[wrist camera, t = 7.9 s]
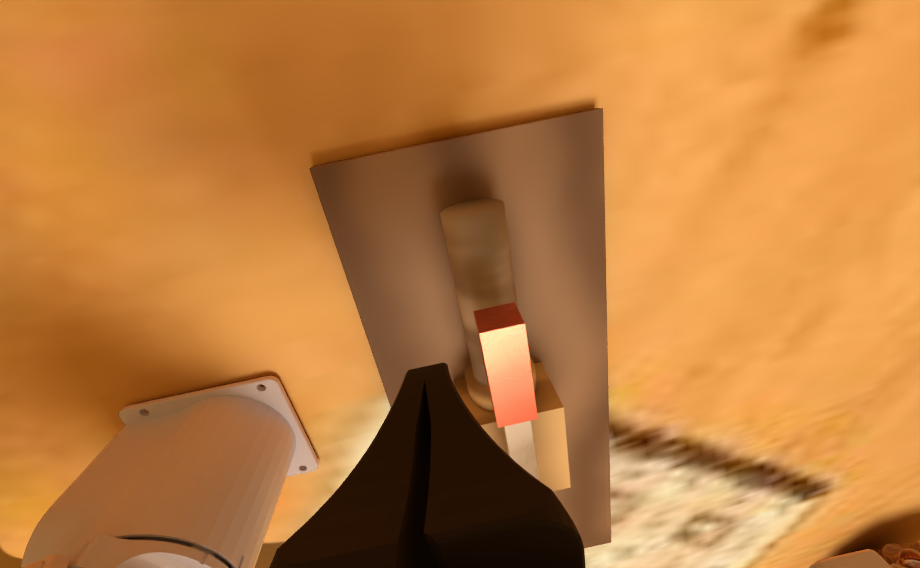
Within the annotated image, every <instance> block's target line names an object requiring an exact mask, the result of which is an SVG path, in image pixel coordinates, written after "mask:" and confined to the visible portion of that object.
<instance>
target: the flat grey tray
mask: <svg viewBox="0 0 920 568" xmlns="http://www.w3.org/2000/svg"><path fill="white" fill-rule="evenodd" d="M309 169H310V172H311V175H312V177H313V180H314V183H315V186H316V189H317V192H318V195H319V198H320V201H321V204H322V207H323V210H324V213H325V216H326V218H327V221H328V224H329V227H330V230H331V233H332V236H333V239H334V242H335V245H336V248H337V251H338V254H339V257H340V259H341V262H342V265H343V268H344V271H345V274H346V277H347V280H348V283H349V286H350V289H351V292H352V295H353V298H354V300H355V303H356V306H357V309H358V312H359V315H360V318H361V321H362V324H363V327H364V330H365V333H366V336H367V339H368V341H369V344H370V347H371V350H372V353H373V356H374V359H375V362H376V365H377V368H378V371H379V374H380V377H381V379H382V382H383V385H384V388H385V391H386V394H387V397H388V400H389V403H390V406H391V407H392V405H393V403H394V401H395V399H396V397H397V394H398V392H399V390H400V387H401V385H402V383H403V380H404V377H405V375H406V373H407V371H408V370H410V369H415V368H420V367H424V366H429V365H434V364H438V363H443V362H444V363H446V364H447V365H448V369H449V373H450V377H451V379H452V381H453V384H454V386H455V388H456V390H457V391H458V393H459V395H460V396H461V398H462V400H463V401H464V403H465V405H466V406H467V408H468V409H469V411H470V412H471V413H472V415H473V416H474V418H475V419H476V420H477V421H478V423H479V424H480V425H481V427H482V428H483V429H484V430H485V431H486V432H487V434H488V435H489V436H490V437H491V438H492V439H493V440H494V441H495V442H496V443H497V445H498V446H499V447H500V448H502V449H503V450H504V451H505V452H506V453H507V454H508V452H507V447H506V442H505V436H504V431H503V427H500V428H498V426H497V422H496V418H495V414H494V410H493V406H492V402H491V398H490V393H489V388H488V383H487V378H486V373H485V368H484V363H483V358H482V353H481V348H480V343H479V338H478V333H477V328H476V323H475V318H474V313H473V311H476V310H480V309H485V308H490V307H494V306H499V305H503V304H508V303H513V302H515V304H516V306H517V308H518V310H519V312H520V314H521V316H522V318H523V320H524V322H525V327H526V334H527V342H528V349H529V356H530V364H531V371H532V379H533V386H534V393H535V401H536V408H537V416H538V419H536V420H532V421H531V427H532V433H533V440H534V447H535V454H536V461H537V467H538V474H539V481H540V482H542V483H543V484H544V485H546V486H547V487H549V488H550V489H551V490H552V491H553V492H554V493H555V495H556V496H557V498H558V499H559V500H560V502H561V503H562V505H563V506H564V508H565V509H566V511H567V512H568V514H569V515H570V517H571V519H572V520H573V522H574V524H575V526H576V528H577V530H578V532H579V534H580V536H581V538H582V542H583V545H584V548H587V547H592V546H596V545H601V544H605V543H610V542H611V510H610V458H609V406H608V354H607V301H606V249H605V197H604V145H603V108H595V109H590V110H586V111H581V112H576V113H571V114H566V115H561V116H556V117H551V118H546V119H541V120H536V121H532V122H527V123H522V124H517V125H512V126H507V127H502V128H497V129H492V130H487V131H483V132H478V133H473V134H468V135H463V136H458V137H453V138H448V139H443V140H438V141H433V142H429V143H424V144H419V145H414V146H409V147H404V148H399V149H394V150H389V151H384V152H380V153H375V154H370V155H365V156H360V157H355V158H350V159H345V160H340V161H335V162H330V163H326V164H321V165H316V166H313V167H311V168H309Z"/></svg>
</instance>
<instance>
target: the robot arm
mask: <svg viewBox="0 0 920 568" xmlns="http://www.w3.org/2000/svg"><path fill="white" fill-rule="evenodd" d="M259 384H262V385H264V386H265V387H262V386H260V385H259ZM146 410H147V411H146ZM119 417H120V419H121V420H122V421H123V423H124V424H125V426H124V427H123V428H122V429H121V431H120V432H119V433H118V434H117V435H116V436H115V437H114V438H113V439H112V440H111V442H110V443H109V444H108V445H107V446H106V447H105V448H104V449H103V450H102V451H101V452H100V454H99V455H98V456H97V457H96V458H95V459H94V460H93V461H92V462H91V463H90V464H89V466H88V467H87V468H86V469H85V470H84V471H83V472H82V473H81V474H80V475H79V476H78V478H77V479H76V480H75V481H74V482H73V483H72V484H71V485H70V486H69V487H68V489H67V490H66V491H65V492H64V493H63V494H62V495H61V496H60V497H59V498H58V499H57V501H56V502H55V503H54V504H53V505H52V506H51V507H50V508H49V509H48V511H47V512H46V513H45V514H44V516H43V517H42V518H41V520H40V521H39V523H38V524H37V526H36V528H35V529H34V531H33V533H32V535H31V537H30V540H29V542H28V544H27V547H26V550H25V553H24V556H23V560H22V565H21V568H254V567H255V564H256V561H257V558H258V555H259V552H260V550H261V547H262V544H263V541H264V538H265V536H266V533H267V530H268V527H269V524H270V521H271V519H272V516H273V513H274V510H275V507H276V504H277V502H278V499H279V496H280V493H281V490H282V487H283V485H284V482H285V479H286V477H288V476H293V475H298V474H302V473H307V472H312V471H315V470H316V469H317V468H318V465H319V460H318V458H317V456H316V454H315V452H314V450H313V448H312V446H311V444H310V442H309V440H308V438H307V436H306V434H305V431H304V429H303V427H302V425H301V423H300V421H299V419H298V417H297V415H296V413H295V411H294V409H293V407H292V405H291V403H290V401H289V399H288V397H287V395H286V392H285V390H284V388H283V386H282V384H281V382H280V380H279V379H278V378H277V377H275V376H266V377H261V378H256V379H251V380H247V381H242V382H237V383H233V384H228V385H223V386H218V387H214V388H209V389H204V390H199V391H195V392H190V393H185V394H181V395H176V396H171V397H166V398H162V399H157V400H152V401H148V402H143V403H138V404H133V405H129V406H125V407H124V408H123V409H122V410H121V411H120V412H119ZM269 568H585V555H584V545H583V542H582V538H581V536H580V534H579V532H578V530H577V528H576V526H575V524H574V522H573V520H572V519H571V517H570V515H569V514H568V512H567V511H566V509H565V508H564V506H563V505H562V503H561V502H560V500H559V499H558V498H557V496H556V495H555V493H554V492H553V491H552V490H551V489H550V488H549V487H547V486H546V485H544V484H543V483H542V482H540V481H539V480H538V479H536V478H535V477H534V476H532V475H531V474H530V473H528V472H527V471H526V470H525V469H524V468H522V467H521V466H520V465H519V464H518V463H516V462H515V461H514V460H513V459H512V458H511V457H510V456H509V455H508V454H507V453H506V452H505V451H504V450H503V449H502V448H500V447H499V446H498V445H497V443H496V442H495V441H494V440H493V439H492V438H491V437H490V436H489V435H488V434H487V432H486V431H485V430H484V429H483V428H482V427H481V425H480V424H479V423H478V421H477V420H476V419H475V418H474V416H473V415H472V413H471V412H470V411H469V409H468V408H467V406H466V405H465V403H464V401H463V400H462V398H461V396H460V395H459V393H458V391H457V390H456V388H455V386H454V384H453V381H452V379H451V377H450V373H449V369H448V365H447V364H446V363H444V362H443V363H438V364H434V365H429V366H424V367H420V368H415V369H410V370H408V371H407V373H406V375H405V377H404V380H403V383H402V385H401V387H400V390H399V392H398V394H397V397H396V399H395V401H394V403H393V405H392V407H391V409H390V411H389V413H388V415H387V417H386V419H385V421H384V423H383V424H382V426H381V428H380V430H379V431H378V433H377V435H376V437H375V438H374V440H373V442H372V443H371V445H370V446H369V448H368V449H367V451H366V452H365V454H364V455H363V457H362V458H361V460H360V461H359V463H358V464H357V465H356V467H355V468H354V469H353V470H352V472H351V473H350V474H349V476H348V477H347V478H346V480H345V481H344V482H343V483H342V485H341V486H340V487H339V488H338V489H337V491H336V492H335V493H334V494H333V495H332V496H331V497H330V498H329V499H328V501H327V502H326V503H325V504H324V505H323V506H322V507H321V508H320V509H319V510H318V511H317V512H316V513H315V514H314V515H313V516H312V517H311V518H310V519H309V520H308V521H307V522H306V523H305V524H304V525H303V526H302V527H301V528H300V529H299V530H298V531H297V532H295V533H294V534H293V535H292V536H291V537H290V538H289V539H288V540H287V541H286V542H285V543H284V544H283V545H281V547H279V548H278V549H277V551H276V553H275V556H274V558H273V561H272V563H271V565H270V567H269ZM810 568H892V567H891V566H890V565H889V564H888V563H887V562H886V561H885V560H884V559H883V558H882V557H881V556H880V555H879V554H878V553H877V552H876V551H874V550H870V549H865V550H861V551H856V552H852V553H847V554H843V555H838V556H834V557H829V558H825V559H822V560H820V561H817V562H816V563H814V564H813V565H811V566H810Z"/></svg>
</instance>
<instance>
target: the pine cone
mask: <svg viewBox="0 0 920 568" xmlns="http://www.w3.org/2000/svg"><path fill="white" fill-rule="evenodd" d="M909 543H910V545H911V547H910V548H909V547H908V548H906V549H905V548H904V547H902V546H901V545H899V544H898V543H896V544H886V545H885V546H884V547H883V548H882V549H878V552H877V553H878V554H879V555H880V556H881V557H882V558H883V559H884V560H885V561H886V562H887V563H888V564H889V565H890V566H891V567H892V568H920V543H918V542H917V541H916V542H915V543H914V544H913V543H911V542H909Z"/></svg>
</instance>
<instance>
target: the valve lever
mask: <svg viewBox="0 0 920 568" xmlns="http://www.w3.org/2000/svg"><path fill="white" fill-rule="evenodd" d="M473 313H474V318H475V323H476V328H477V333H478V338H479V343H480V348H481V353H482V358H483V363H484V368H485V373H486V378H487V383H488V388H489V393H490V398H491V402H492V406H493V410H494V414H495V418H496V422H497V426H498V428H500V427H503V431H504V436H505V442H506V447H507V452H508V455H509V456H510V457H511V458H512V459H513V460H514V461H515V462H516V463H518V464H519V465H520V466H521V467H522V468H524V469H525V470H526V471H527V472H528V473H530V474H531V475H532V476H534V477H535V478H536V479H538V480H539V474H538V467H537V461H536V454H535V447H534V440H533V433H532V427H531V421H532V420H536V419H538V416H537V408H536V401H535V393H534V386H533V379H532V371H531V364H530V356H529V349H528V342H527V334H526V327H525V322H524V320H523V318H522V316H521V314H520V312H519V310H518V308H517V306H516V304H515V302H513V303H508V304H503V305H499V306H494V307H490V308H485V309H480V310H476V311H473Z"/></svg>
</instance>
